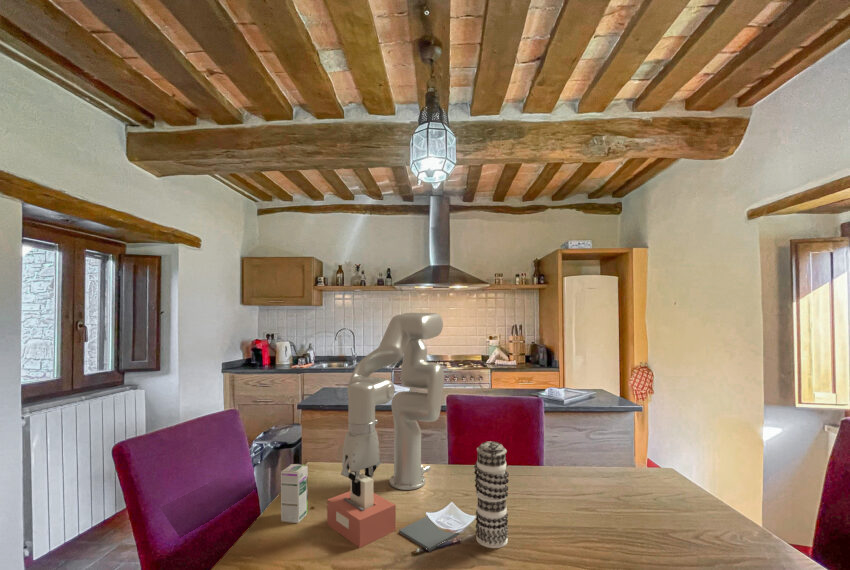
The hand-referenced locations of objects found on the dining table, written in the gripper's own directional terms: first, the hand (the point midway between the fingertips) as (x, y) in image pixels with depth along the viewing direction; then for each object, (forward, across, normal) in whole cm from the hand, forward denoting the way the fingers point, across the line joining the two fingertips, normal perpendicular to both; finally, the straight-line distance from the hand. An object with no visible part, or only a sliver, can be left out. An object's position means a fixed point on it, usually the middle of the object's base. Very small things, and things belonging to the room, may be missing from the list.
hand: (361, 492), depth 119 cm
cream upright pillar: (+5, 0, 0) cm, 5 cm away
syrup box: (+10, +11, -18) cm, 23 cm away
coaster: (+10, -12, +16) cm, 22 cm away
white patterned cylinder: (+10, -22, +29) cm, 38 cm away
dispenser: (+10, 0, 0) cm, 10 cm away
